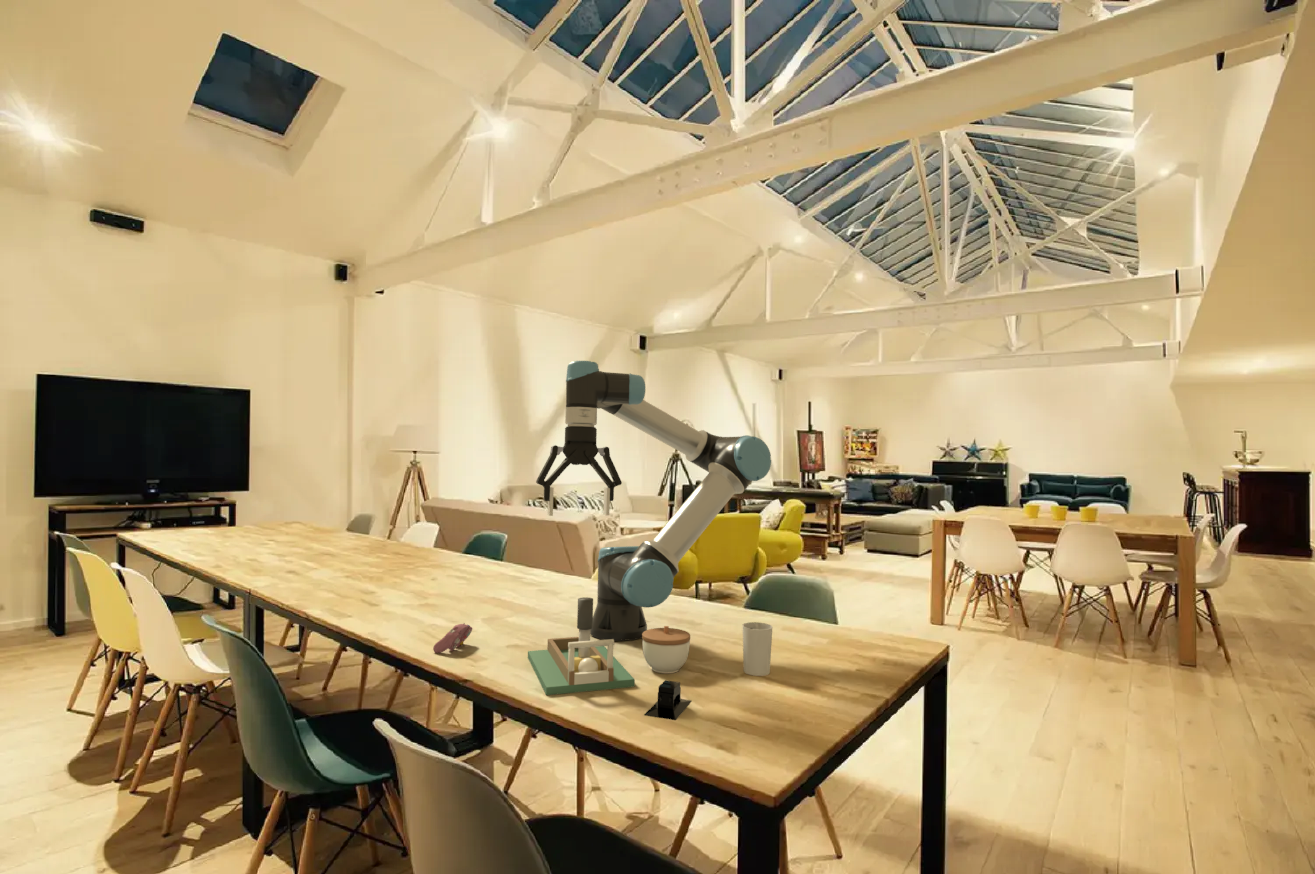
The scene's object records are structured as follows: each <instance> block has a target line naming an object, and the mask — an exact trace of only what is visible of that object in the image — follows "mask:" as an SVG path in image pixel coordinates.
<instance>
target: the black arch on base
mask: <svg viewBox="0 0 1315 874" xmlns="http://www.w3.org/2000/svg"><path fill="white" fill-rule="evenodd" d="M681 691H682V689H681V682H680V681H672V680H667V679H666V680H664V681H663V682H662V683H661V684H660V685H659V686H658V692H657V701H656V702H655V703H654V704H653V705H652V706H651V707H650V708H649V709H648V710H647V711H646V712H645V713H644V714H643V716H646V717H653V718H658V719H665V720H670V721H676V720H678V718H679V717H680V716H681V715H682V714H683V712H684V711H685V710H686V709H687V708H688V706H689V705H690V704H691V703H692V700H690V699H684V698H681V697H682V696H681V694H682V693H681Z"/></svg>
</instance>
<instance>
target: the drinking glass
mask: <svg viewBox="0 0 1315 874" xmlns="http://www.w3.org/2000/svg"><path fill="white" fill-rule="evenodd" d="M772 641H773V625H771V624H770V623H765V622H759V621H758V622H757V621H756V622H755V621H753V622H752V621H751V622H749V621H748V622H745V623H743V624H742V652H743V653H742V654H743V656H742V657H743V672H744V673H745V674H747V675H750V676H754V677H755V676H757V677H765V676H768V675H769V674H770V673H771V658H772V655H771V654H772V643H773V642H772Z"/></svg>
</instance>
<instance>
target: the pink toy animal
mask: <svg viewBox="0 0 1315 874" xmlns="http://www.w3.org/2000/svg"><path fill="white" fill-rule="evenodd" d="M472 631H473V627H472V626H471V625H469V624H465V622H463V623H459V624H455V625H454V626H453V627H452V629H450V630H449V631H448V632H447V633H446V634H445V635H444V636H443V637H442V638H441V639H440V640H439V641H437V642H436V643H435V644H434V646H433V649H432V651H433V652H434V653H436V654H442V653H443V652H446V651H447V650H449V651H450V652H453V651H454V650H455V649H456V647H457V648H460V647H461V646H464V645H463V644H464V642H465V641H466V640H467V638H469V637H470V635H471V633H472Z"/></svg>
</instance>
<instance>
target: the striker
mask: <svg viewBox="0 0 1315 874" xmlns="http://www.w3.org/2000/svg"><path fill="white" fill-rule="evenodd" d="M593 615H594V598H592V597H588V596H587V597H583V596H582V597H578V598H577V615H576V616H577V618H576V619H577V620H576V621H577V622H576V624H577V625H576V627H577V629H578V637H579V642H580V641H591V634H590V630H591V629H592V627H593ZM584 658H593V659H594V660H595V661H596V662H597V664H598V671H600V664H601V657H600V656H599V655H597V656H590V647H584V648H579V649H578V657H574V672H575V673H579V670H578V666H579V663H580V662H581V661H582V660H583V659H584Z"/></svg>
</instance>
